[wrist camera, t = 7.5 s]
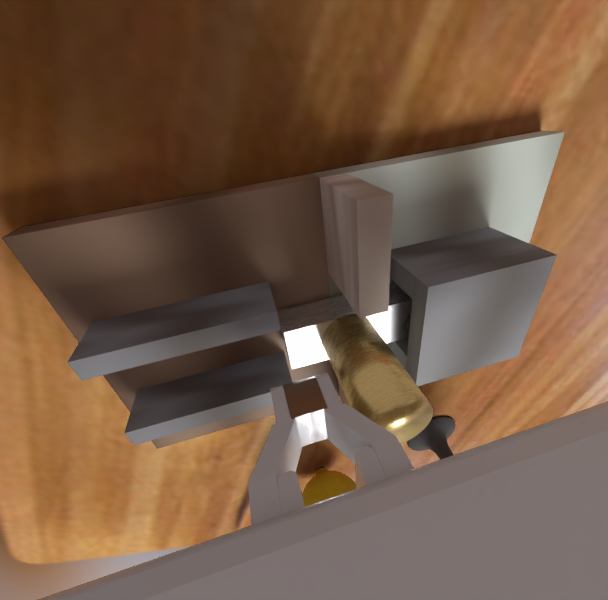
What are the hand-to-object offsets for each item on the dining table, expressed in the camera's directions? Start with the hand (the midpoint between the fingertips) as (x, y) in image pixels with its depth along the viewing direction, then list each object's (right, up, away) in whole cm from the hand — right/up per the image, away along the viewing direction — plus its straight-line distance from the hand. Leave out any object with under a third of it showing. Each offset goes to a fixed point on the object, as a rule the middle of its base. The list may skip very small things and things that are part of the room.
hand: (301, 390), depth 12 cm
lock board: (+1, +4, +5) cm, 6 cm away
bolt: (+5, +4, +4) cm, 7 cm away
